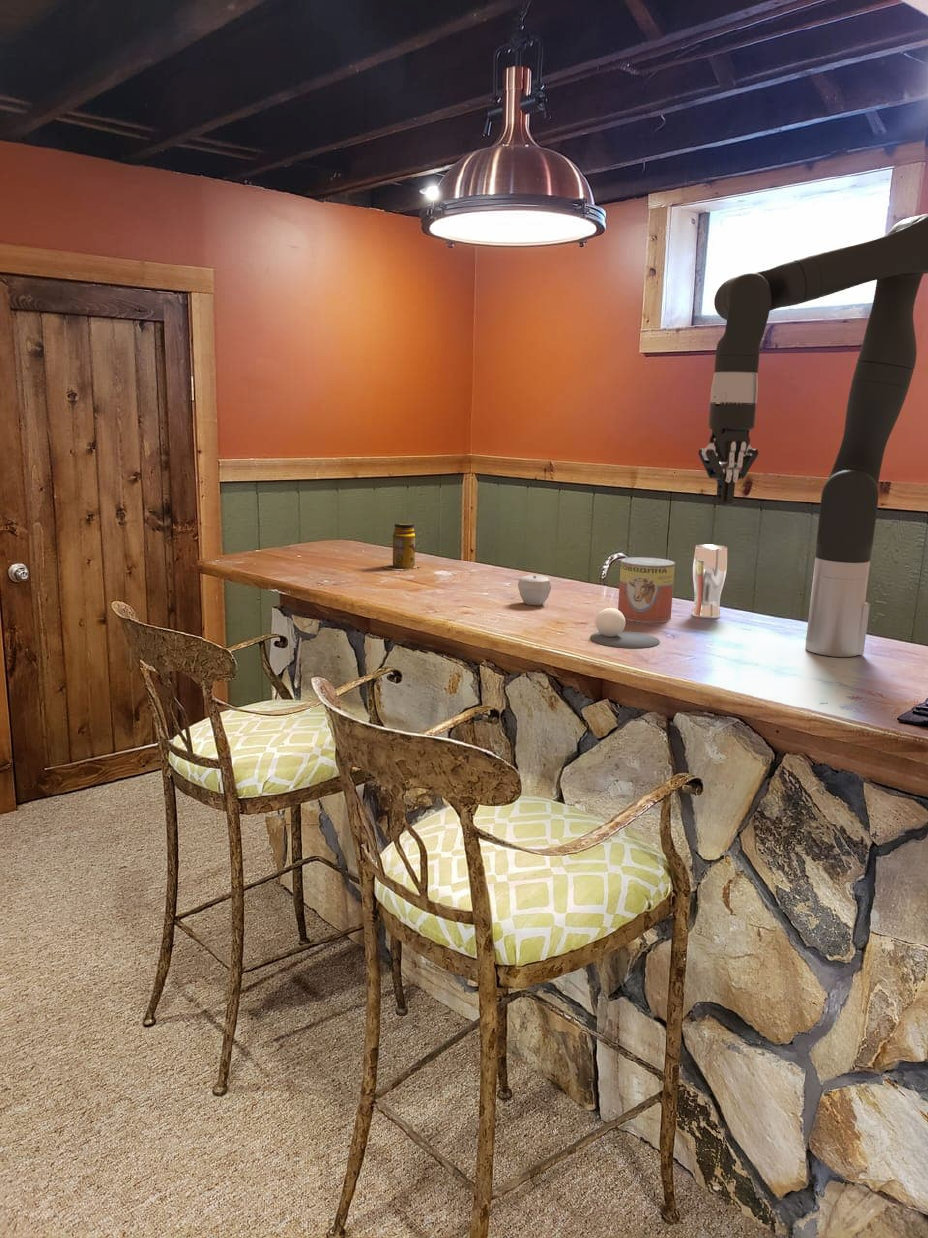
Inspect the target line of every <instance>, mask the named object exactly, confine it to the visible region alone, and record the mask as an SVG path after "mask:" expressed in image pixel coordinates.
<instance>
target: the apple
mask: <svg viewBox="0 0 928 1238" xmlns="http://www.w3.org/2000/svg"><path fill="white" fill-rule="evenodd" d="M517 587H518V591H519V595H520V598H521V599H522V601H523V603H524V604H525V605H528V606H541V605H543V604H545V602H546V601H547V600H548V598H549V596H550V593H551V591H552V590H551V589H552V585H551V581H550V579H549V577H548V576H544V575H539V574H538V575H537V574H530V575H524V576H520V577H519V579H518V582H517Z"/></svg>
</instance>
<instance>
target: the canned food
mask: <svg viewBox="0 0 928 1238" xmlns="http://www.w3.org/2000/svg"><path fill="white" fill-rule="evenodd" d="M675 565H676V562H675V561H674V560H670V559H666V558H657V557H649V556H648V557H646V556H631V557H629V556H628V557H623V558H621V559H620V571H619V572H620V573H619V574H620V575H619V587H618V589H619V591H618V604H617V610H619V611H620V612H621V613H622V614H623V616H624V618H625V619H626V620H625V621H628V620H631V621H630V622H634V621H636V622H635V623H642V622H661V623H666V621H667V622H669V620H670V621H671V620H672V617H671V616H672V608H673V607H672V606H673V605H672V604H673V592H674V580H675V570H676V569H675V567H676V566H675Z"/></svg>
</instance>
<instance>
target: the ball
mask: <svg viewBox="0 0 928 1238" xmlns="http://www.w3.org/2000/svg"><path fill="white" fill-rule="evenodd" d="M625 626H626V620H625V618H624V616H623V614H622V613H621V612H620V611H619V610H618V608H614V607H607V608H605V609H602V610H601V611H600V612H598V614H597V616H596V619H595V627H596V629H597V631H598V632H600V633H601V634H602V635H604V636H607V637H615V636H617V635H619V634H620V633H621V632H622V631H625V630H624V629H625Z"/></svg>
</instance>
